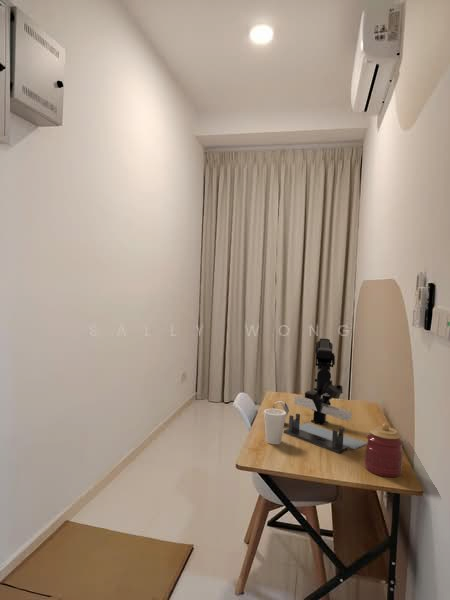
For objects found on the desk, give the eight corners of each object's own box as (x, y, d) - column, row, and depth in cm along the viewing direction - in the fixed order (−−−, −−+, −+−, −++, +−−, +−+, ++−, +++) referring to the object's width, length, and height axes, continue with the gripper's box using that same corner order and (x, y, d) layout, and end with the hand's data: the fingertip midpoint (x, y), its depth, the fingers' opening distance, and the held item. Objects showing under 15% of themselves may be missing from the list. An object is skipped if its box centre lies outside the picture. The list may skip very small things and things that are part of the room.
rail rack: (293, 429, 191) (294, 412, 191) (348, 449, 170) (349, 429, 169) (283, 432, 186) (284, 414, 186) (338, 453, 165) (340, 433, 165)
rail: (298, 402, 192) (299, 396, 192) (351, 419, 171) (351, 411, 171) (294, 403, 190) (294, 397, 190) (347, 420, 169) (347, 413, 169)
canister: (371, 459, 161) (374, 415, 160) (405, 470, 152) (408, 424, 152) (359, 469, 151) (362, 423, 150) (395, 481, 142) (398, 432, 142)
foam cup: (287, 440, 176) (289, 411, 176) (279, 447, 168) (281, 416, 168) (267, 436, 181) (269, 407, 181) (258, 442, 173) (260, 412, 173)
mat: (307, 423, 201) (307, 422, 201) (366, 444, 177) (367, 443, 177) (293, 428, 194) (293, 427, 194) (353, 449, 170) (353, 448, 170)
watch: (287, 426, 195) (288, 404, 195) (271, 424, 198) (272, 402, 197) (288, 423, 201) (290, 401, 201) (272, 420, 203) (273, 399, 203)
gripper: (326, 384, 168) (324, 421, 169) (350, 378, 180) (348, 413, 181) (304, 378, 176) (302, 413, 177) (329, 373, 189) (327, 406, 189)
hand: (321, 412), depth 181 cm, fingers closed on rail, 3 cm apart
